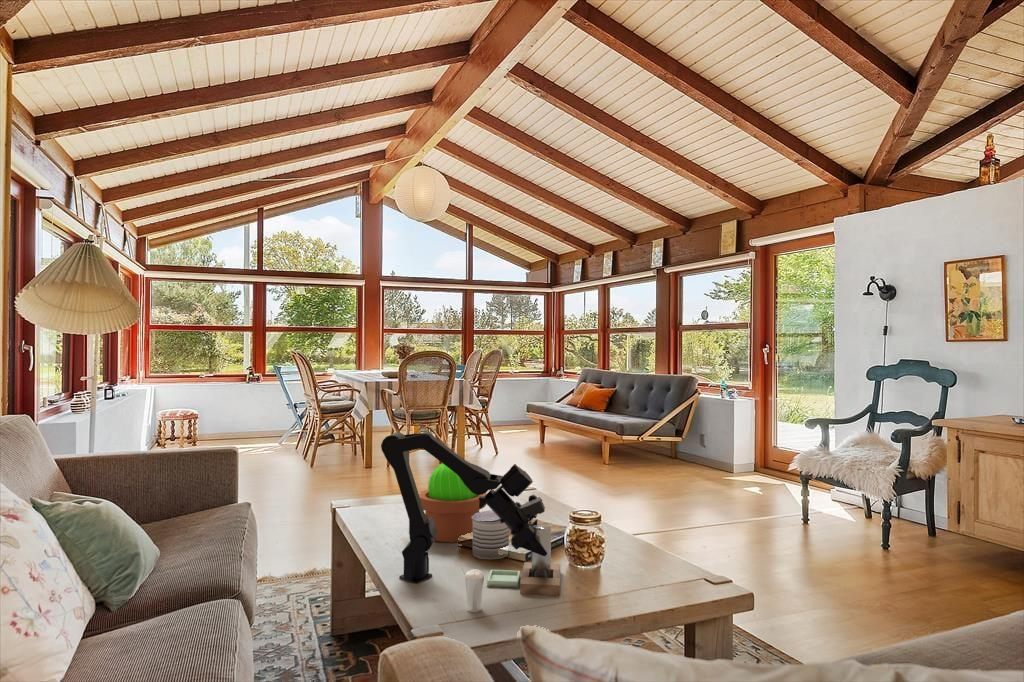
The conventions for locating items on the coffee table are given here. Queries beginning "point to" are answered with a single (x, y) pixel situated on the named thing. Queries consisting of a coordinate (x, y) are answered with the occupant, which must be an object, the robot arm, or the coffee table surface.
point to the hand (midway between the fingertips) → (546, 551)
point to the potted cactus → (449, 504)
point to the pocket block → (540, 581)
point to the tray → (503, 578)
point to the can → (489, 535)
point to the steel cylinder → (540, 562)
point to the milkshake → (474, 589)
